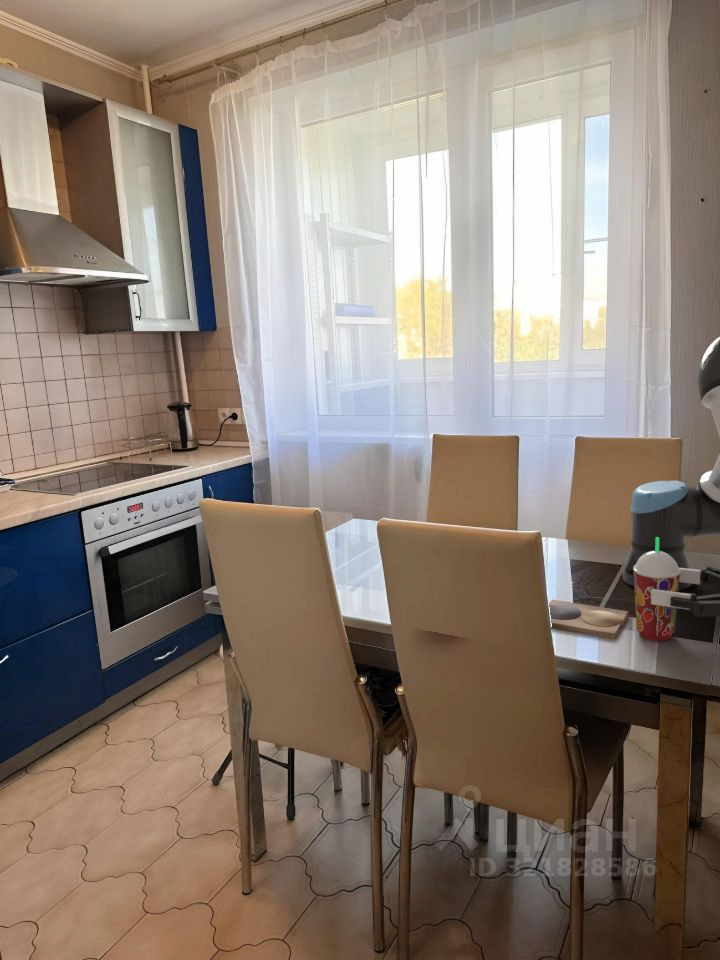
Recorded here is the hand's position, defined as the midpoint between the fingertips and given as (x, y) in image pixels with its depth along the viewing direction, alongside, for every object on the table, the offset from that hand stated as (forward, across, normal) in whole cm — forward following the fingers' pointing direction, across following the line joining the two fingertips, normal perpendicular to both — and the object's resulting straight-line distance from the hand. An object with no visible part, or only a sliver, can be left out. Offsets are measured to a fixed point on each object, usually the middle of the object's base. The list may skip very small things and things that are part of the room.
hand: (657, 584), depth 128 cm
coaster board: (+15, +2, -11) cm, 18 cm away
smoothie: (0, +1, -11) cm, 11 cm away
